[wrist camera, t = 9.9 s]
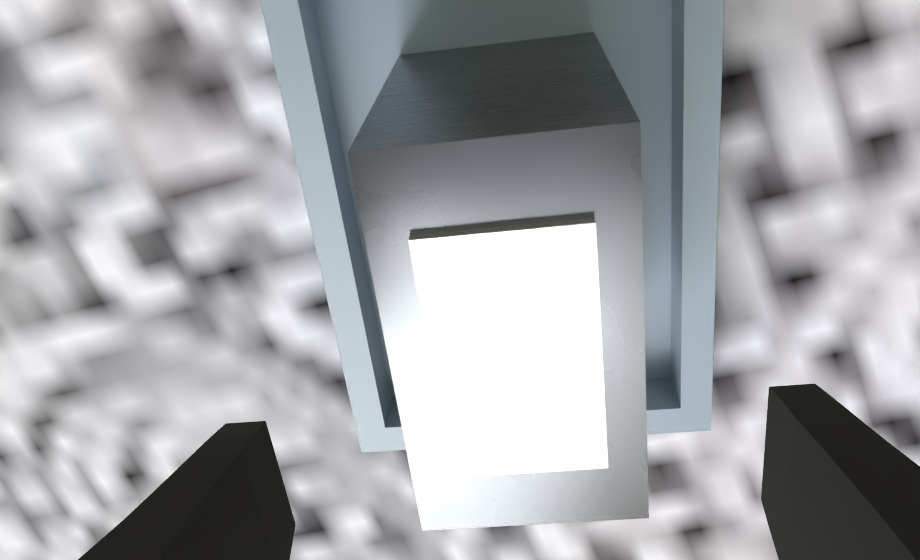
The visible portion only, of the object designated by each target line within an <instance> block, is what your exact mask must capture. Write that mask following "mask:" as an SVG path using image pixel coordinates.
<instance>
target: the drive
mask: <svg viewBox="0 0 920 560" xmlns="http://www.w3.org/2000/svg"><path fill="white" fill-rule="evenodd" d="M348 157H349V163H350V168H351V173H352V178H353V183H354V188H355V193H356V198H357V203H358V208H359V213H360V218H361V223H362V228H363V233H364V238H365V243H366V249H367V254H368V259H369V264H370V269H371V274H372V279H373V284H374V289H375V294H376V299H377V304H378V309H379V314H380V319H381V324H382V330H383V335H384V340H385V345H386V350H387V355H388V360H389V365H390V370H391V375H392V380H393V385H394V390H395V395H396V400H397V405H398V410H399V416H400V421H401V426H402V431H403V436H404V441H405V446H406V451H407V456H408V461H409V466H410V471H411V476H412V481H413V486H414V491H415V496H416V502H417V507H418V512H419V517H420V522H421V527H422V531H423V530H441V529H459V528H477V527H495V526H512V525H530V524H548V523H566V522H584V521H602V520H619V519H637V518H649V512H648V464H647V416H646V369H645V321H644V273H643V225H642V177H641V130H640V120H639V118H638V116H637V114H636V112H635V110H634V108H633V106H632V104H631V103H630V101H629V99H628V97H627V95H626V93H625V91H624V89H623V87H622V85H621V83H620V81H619V79H618V77H617V76H616V74H615V72H614V70H613V68H612V66H611V64H610V62H609V60H608V58H607V56H606V54H605V52H604V50H603V48H602V47H601V45H600V43H599V41H598V39H597V37H596V35H595V33H594V32H590V33H581V34H573V35H564V36H556V37H547V38H539V39H530V40H522V41H513V42H505V43H496V44H488V45H479V46H471V47H462V48H454V49H445V50H437V51H428V52H420V53H411V54H403V55H399V57H398V59H397V61H396V62H395V64H394V66H393V68H392V70H391V72H390V74H389V76H388V77H387V79H386V81H385V83H384V85H383V87H382V89H381V91H380V92H379V94H378V96H377V98H376V100H375V102H374V104H373V106H372V107H371V109H370V111H369V113H368V115H367V117H366V119H365V121H364V122H363V124H362V126H361V128H360V130H359V132H358V134H357V136H356V137H355V139H354V141H353V143H352V145H351V147H350V149H349V151H348Z"/></svg>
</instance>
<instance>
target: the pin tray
mask: <svg viewBox="0 0 920 560" xmlns="http://www.w3.org/2000/svg"><path fill="white" fill-rule="evenodd" d="M260 3H261V7H262V12H263V16H264V21H265V25H266V30H267V34H268V39H269V43H270V47H271V52H272V56H273V61H274V65H275V70H276V74H277V78H278V83H279V87H280V92H281V96H282V101H283V105H284V110H285V114H286V118H287V123H288V127H289V132H290V136H291V141H292V145H293V149H294V154H295V158H296V163H297V167H298V172H299V176H300V181H301V185H302V189H303V194H304V198H305V203H306V207H307V212H308V216H309V220H310V225H311V229H312V234H313V238H314V243H315V247H316V252H317V256H318V260H319V265H320V269H321V274H322V278H323V283H324V287H325V292H326V296H327V300H328V305H329V309H330V314H331V318H332V323H333V327H334V331H335V336H336V340H337V345H338V349H339V354H340V358H341V363H342V367H343V371H344V376H345V380H346V385H347V389H348V394H349V398H350V402H351V407H352V411H353V416H354V420H355V425H356V429H357V434H358V438H359V442H360V447H361V451H362V452H374V451H390V450H406V446H405V441H404V436H403V431H402V426H401V421H400V416H399V410H398V405H397V400H396V395H395V390H394V385H393V380H392V375H391V370H390V365H389V360H388V355H387V350H386V345H385V340H384V335H383V330H382V324H381V319H380V314H379V309H378V304H377V299H376V294H375V289H374V284H373V279H372V274H371V269H370V264H369V259H368V254H367V249H366V243H365V238H364V233H363V228H362V223H361V218H360V213H359V208H358V203H357V198H356V193H355V188H354V183H353V178H352V173H351V168H350V163H349V157H348V151H349V149H350V147H351V145H352V143H353V141H354V139H355V137H356V136H357V134H358V132H359V130H360V128H361V126H362V124H363V122H364V121H365V119H366V117H367V115H368V113H369V111H370V109H371V107H372V106H373V104H374V102H375V100H376V98H377V96H378V94H379V92H380V91H381V89H382V87H383V85H384V83H385V81H386V79H387V77H388V76H389V74H390V72H391V70H392V68H393V66H394V64H395V62H396V61H397V59H398V57H399V55H403V54H411V53H420V52H428V51H437V50H445V49H454V48H462V47H471V46H479V45H488V44H496V43H505V42H513V41H522V40H530V39H539V38H547V37H556V36H564V35H573V34H581V33H590V32H594V33H595V35H596V37H597V39H598V41H599V43H600V45H601V47H602V48H603V50H604V52H605V54H606V56H607V58H608V60H609V62H610V64H611V66H612V68H613V70H614V72H615V74H616V76H617V77H618V79H619V81H620V83H621V85H622V87H623V89H624V91H625V93H626V95H627V97H628V99H629V101H630V103H631V104H632V106H633V108H634V110H635V112H636V114H637V116H638V118H639V120H640V130H641V177H642V225H643V273H644V321H645V369H646V416H647V434H659V433H675V432H691V431H707V430H711V410H712V377H713V345H714V312H715V280H716V248H717V215H718V183H719V150H720V118H721V86H722V53H723V21H724V0H260Z"/></svg>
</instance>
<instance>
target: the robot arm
mask: <svg viewBox="0 0 920 560" xmlns="http://www.w3.org/2000/svg"><path fill="white" fill-rule="evenodd" d="M761 500H762V504H763V507H764V511H765V514H766V518H767V521H768V525H769V528H770V532H771V535H772V539H773V542H774V545H775V548H776V552H777V555H778V558H779V560H920V466H918V465H917V464H916V463H914V462H913V461H912V460H910V459H909V458H908V457H907V456H905V455H904V454H903V453H901V452H900V451H899V450H898V449H896V448H895V447H894V446H892V445H891V444H890V443H889V442H887V441H886V440H885V439H883V438H882V437H881V436H880V435H878V434H877V433H876V432H875V431H873V430H872V429H871V428H870V427H868V426H867V425H866V424H865V423H863V422H862V421H861V420H860V419H858V418H857V417H856V416H855V415H854V414H852V413H851V412H850V411H849V410H847V409H846V408H845V407H844V406H842V405H841V404H840V403H839V402H837V401H836V400H835V399H834V398H833V397H831V396H830V395H829V394H827V393H826V392H825V391H824V390H822V389H821V388H820V387H818V386H817V385H816V384H805V385H790V386H775V387H769V396H768V410H767V424H766V439H765V453H764V467H763V481H762V495H761ZM294 530H295V521H294V518H293V514H292V511H291V507H290V504H289V501H288V497H287V494H286V490H285V487H284V483H283V480H282V476H281V473H280V469H279V466H278V462H277V459H276V456H275V452H274V449H273V445H272V442H271V438H270V435H269V431H268V428H267V424H266V421H258V422H244V423H229V424H225V425H224V426H223V427H222V428H220V429H219V430H218V431H217V432H216V433H215V434H214V435H213V436H211V437H210V438H209V439H208V440H207V441H206V442H205V443H204V444H203V445H202V446H201V447H200V448H199V449H198V450H197V451H196V452H195V453H194V454H192V455H191V456H190V457H189V458H188V459H187V460H186V461H185V462H184V463H183V464H182V465H181V466H180V467H179V468H178V469H177V470H176V471H175V472H174V473H173V474H172V475H171V476H170V477H169V478H168V479H167V480H166V481H164V482H163V483H162V484H161V485H160V486H159V487H158V488H157V489H156V490H155V491H154V492H153V493H152V494H151V495H150V496H149V497H148V498H146V499H145V500H144V501H143V502H142V503H141V504H140V505H139V506H138V507H137V508H136V509H135V510H134V511H133V512H132V513H131V514H130V515H128V516H127V517H126V518H125V519H124V520H123V521H122V522H121V523H120V524H118V525H117V526H116V527H115V528H114V529H113V530H112V531H110V532H109V533H108V534H107V535H106V536H105V537H104V538H102V539H101V540H100V541H99V542H98V543H97V544H96V545H94V546H93V547H92V548H91V549H90V550H89V551H87V552H86V553H85V554H84V555H83V556H82V557H81V558H79V559H78V560H289V559H290V553H291V547H292V541H293V536H294Z"/></svg>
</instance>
